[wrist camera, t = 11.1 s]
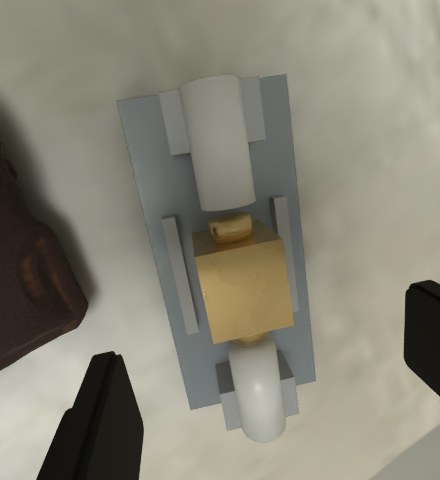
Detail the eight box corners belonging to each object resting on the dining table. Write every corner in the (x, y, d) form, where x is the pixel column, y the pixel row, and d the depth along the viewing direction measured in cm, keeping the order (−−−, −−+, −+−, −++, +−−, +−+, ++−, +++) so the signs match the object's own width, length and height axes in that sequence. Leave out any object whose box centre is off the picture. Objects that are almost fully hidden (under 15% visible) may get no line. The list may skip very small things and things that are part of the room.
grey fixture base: (121, 105, 19) (94, 81, 13) (278, 80, 19) (319, 46, 14) (190, 395, 25) (192, 467, 19) (308, 368, 25) (345, 429, 20)
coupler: (187, 215, 19) (189, 233, 15) (255, 202, 20) (279, 215, 15) (209, 317, 21) (217, 363, 17) (271, 303, 22) (296, 344, 17)
